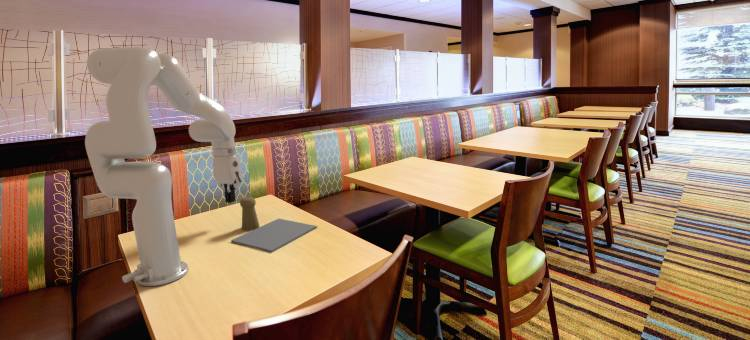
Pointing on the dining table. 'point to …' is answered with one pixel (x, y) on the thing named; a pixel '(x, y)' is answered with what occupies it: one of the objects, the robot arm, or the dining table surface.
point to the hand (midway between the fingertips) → (230, 201)
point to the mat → (274, 235)
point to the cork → (249, 214)
